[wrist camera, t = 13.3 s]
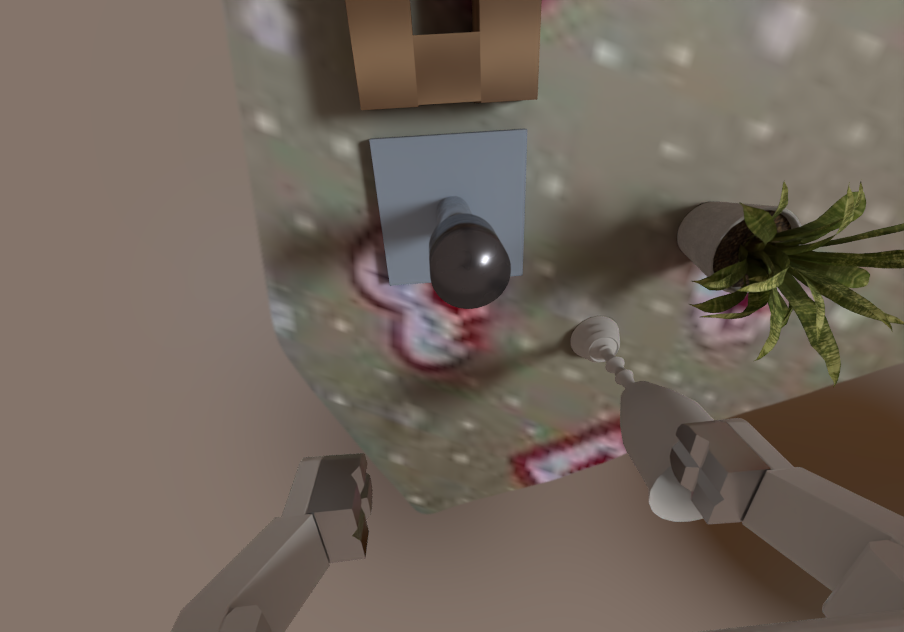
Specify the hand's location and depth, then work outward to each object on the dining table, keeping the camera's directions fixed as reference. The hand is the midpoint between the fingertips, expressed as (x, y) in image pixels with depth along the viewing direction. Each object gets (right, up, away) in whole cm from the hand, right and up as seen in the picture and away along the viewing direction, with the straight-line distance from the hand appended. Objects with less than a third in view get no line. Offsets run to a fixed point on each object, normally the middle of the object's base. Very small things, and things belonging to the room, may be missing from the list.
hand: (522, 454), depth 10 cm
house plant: (+21, +13, +25) cm, 35 cm away
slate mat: (-2, +13, +23) cm, 27 cm away
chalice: (+13, +1, +31) cm, 33 cm away
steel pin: (-2, +12, +23) cm, 26 cm away
